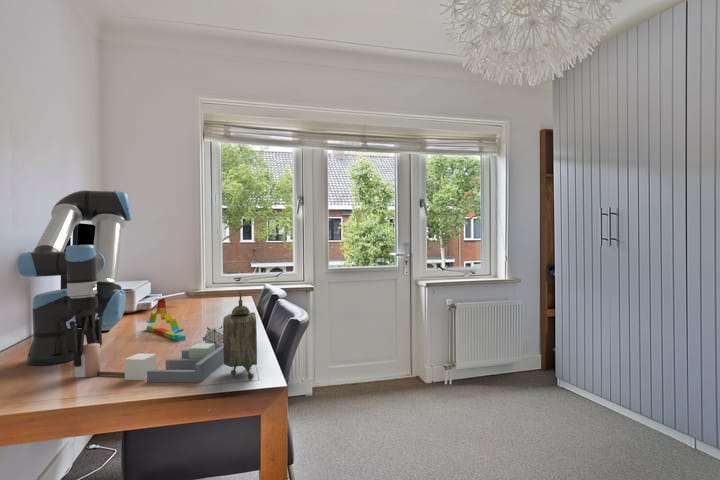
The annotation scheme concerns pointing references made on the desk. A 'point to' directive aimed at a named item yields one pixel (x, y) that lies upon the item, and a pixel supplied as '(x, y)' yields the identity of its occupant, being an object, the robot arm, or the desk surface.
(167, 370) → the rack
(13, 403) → the desk surface
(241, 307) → the tabletop clock
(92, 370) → the corded block
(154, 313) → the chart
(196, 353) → the sage block
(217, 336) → the grey spiky lattice polyhedron
